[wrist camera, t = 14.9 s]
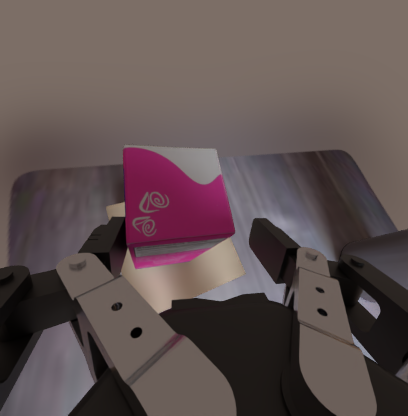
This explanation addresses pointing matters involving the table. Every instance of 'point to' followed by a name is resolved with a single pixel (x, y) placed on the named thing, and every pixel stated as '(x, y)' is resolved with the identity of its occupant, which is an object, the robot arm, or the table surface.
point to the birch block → (181, 272)
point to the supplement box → (173, 204)
